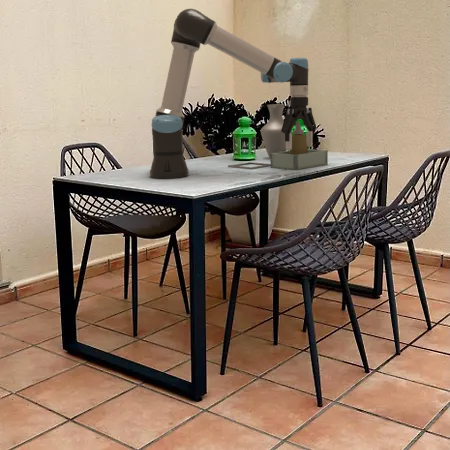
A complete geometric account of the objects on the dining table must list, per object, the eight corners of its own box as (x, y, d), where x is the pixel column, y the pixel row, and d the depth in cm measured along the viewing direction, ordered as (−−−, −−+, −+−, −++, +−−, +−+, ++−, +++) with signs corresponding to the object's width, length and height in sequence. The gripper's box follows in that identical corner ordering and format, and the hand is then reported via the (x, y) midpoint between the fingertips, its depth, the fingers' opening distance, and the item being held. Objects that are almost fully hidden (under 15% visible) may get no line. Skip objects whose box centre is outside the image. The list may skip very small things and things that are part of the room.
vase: (284, 156, 308) (284, 103, 303) (297, 159, 295) (296, 104, 290) (256, 157, 304) (255, 104, 299) (268, 161, 291) (267, 105, 285)
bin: (295, 170, 258) (295, 155, 256) (270, 167, 267) (270, 153, 266) (327, 164, 272) (327, 150, 271) (302, 162, 282) (302, 148, 280)
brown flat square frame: (251, 169, 264) (251, 167, 264) (227, 166, 274) (227, 165, 274) (273, 165, 273) (273, 164, 273) (250, 163, 283) (250, 162, 283)
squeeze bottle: (312, 164, 268) (311, 120, 265) (295, 165, 264) (294, 121, 261) (302, 163, 275) (301, 121, 272) (286, 164, 272) (284, 121, 269)
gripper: (286, 97, 252) (286, 151, 257) (324, 95, 269) (324, 145, 274) (272, 97, 258) (272, 150, 262) (310, 95, 275) (310, 144, 279)
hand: (299, 148), depth 268 cm, fingers open, 13 cm apart
